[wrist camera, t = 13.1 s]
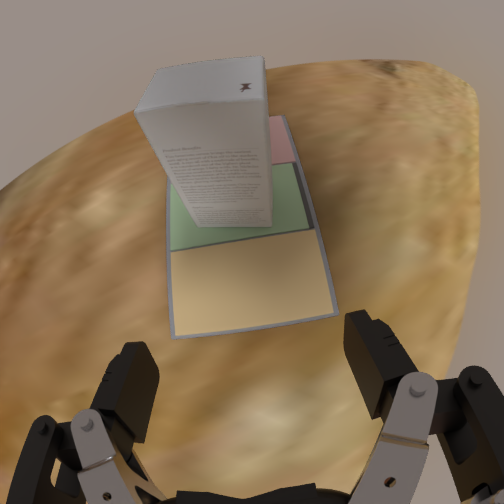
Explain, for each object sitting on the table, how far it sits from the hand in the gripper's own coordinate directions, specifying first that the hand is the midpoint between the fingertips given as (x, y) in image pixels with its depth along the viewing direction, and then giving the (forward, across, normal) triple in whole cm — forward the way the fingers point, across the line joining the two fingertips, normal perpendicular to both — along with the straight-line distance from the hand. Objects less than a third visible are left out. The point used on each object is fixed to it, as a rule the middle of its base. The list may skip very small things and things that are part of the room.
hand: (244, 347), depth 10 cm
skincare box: (+14, 0, -2) cm, 14 cm away
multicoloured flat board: (+14, 0, -2) cm, 14 cm away
